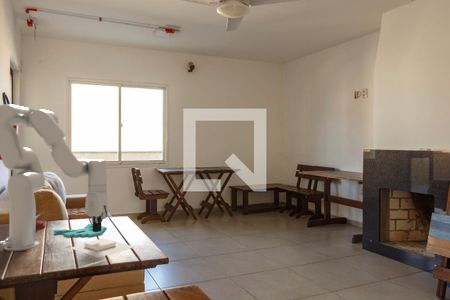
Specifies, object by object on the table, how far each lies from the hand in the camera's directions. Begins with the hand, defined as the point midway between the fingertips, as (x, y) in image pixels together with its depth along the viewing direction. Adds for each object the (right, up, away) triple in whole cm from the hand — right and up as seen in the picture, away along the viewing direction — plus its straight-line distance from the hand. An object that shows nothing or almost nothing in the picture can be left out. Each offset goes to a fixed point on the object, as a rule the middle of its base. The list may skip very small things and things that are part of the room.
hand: (96, 231), depth 149 cm
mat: (+3, -7, -2) cm, 8 cm away
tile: (-2, -5, +1) cm, 5 cm away
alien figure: (-14, -7, +22) cm, 27 cm away
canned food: (-44, -6, +32) cm, 54 cm away
